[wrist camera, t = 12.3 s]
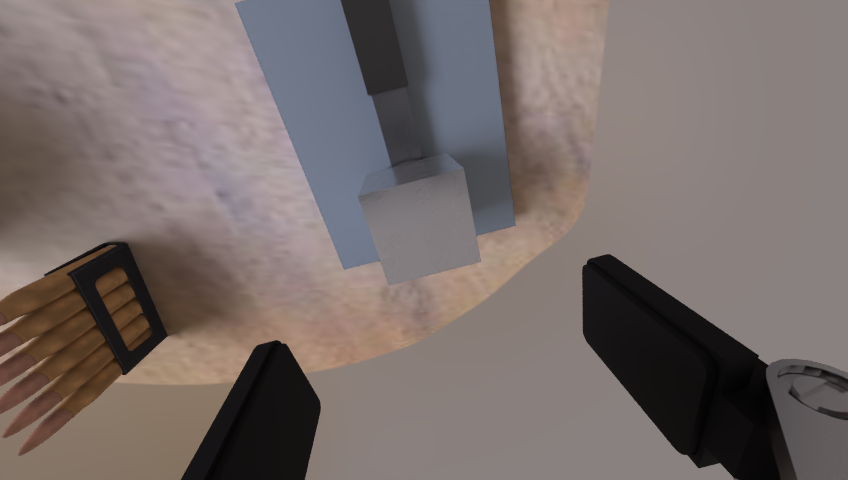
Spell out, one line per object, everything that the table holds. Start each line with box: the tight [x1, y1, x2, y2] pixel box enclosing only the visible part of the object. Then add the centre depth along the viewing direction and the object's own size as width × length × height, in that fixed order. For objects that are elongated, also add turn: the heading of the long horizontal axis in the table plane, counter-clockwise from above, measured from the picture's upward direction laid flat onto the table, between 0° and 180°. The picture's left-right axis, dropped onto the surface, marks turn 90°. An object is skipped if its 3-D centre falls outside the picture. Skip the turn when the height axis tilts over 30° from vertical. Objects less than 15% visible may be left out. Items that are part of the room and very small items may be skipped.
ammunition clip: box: [0, 243, 168, 456], centre depth 23 cm, size 11×2×12 cm, turn 0°
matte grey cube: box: [358, 153, 481, 285], centre depth 20 cm, size 6×6×6 cm
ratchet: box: [341, 0, 426, 169], centre depth 20 cm, size 17×6×6 cm, turn 14°
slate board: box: [235, 0, 516, 269], centre depth 24 cm, size 20×16×2 cm
